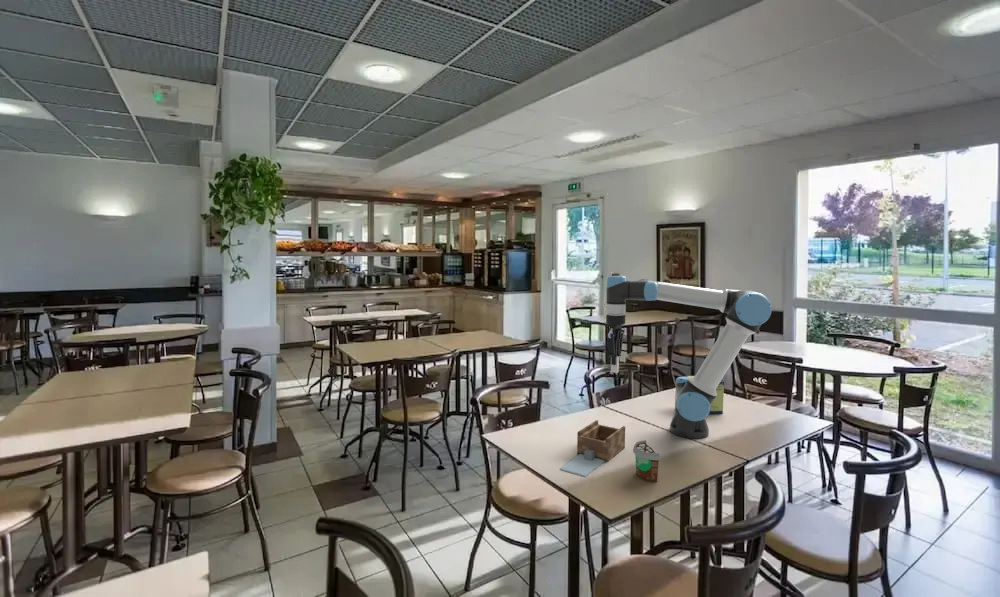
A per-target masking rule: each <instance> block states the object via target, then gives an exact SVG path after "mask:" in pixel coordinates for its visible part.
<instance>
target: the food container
mask: <svg viewBox="0 0 1000 597" xmlns="http://www.w3.org/2000/svg"><path fill="white" fill-rule="evenodd" d="M632 452H633V453H634V455H635V458H634V459H635V474H636V477H637V478H639V479H640V480H642V481H645V482H651V483H657V482H658V474H659V462H660V461H661V460H660V459H661V458H660V453H656V452H655V451H654V449H653V448H652V447H651V446H649V445H648V444H647V440H646V439H645V440H639V441H637V442H636V443H635V444H634V445H633V450H632Z"/></svg>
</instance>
